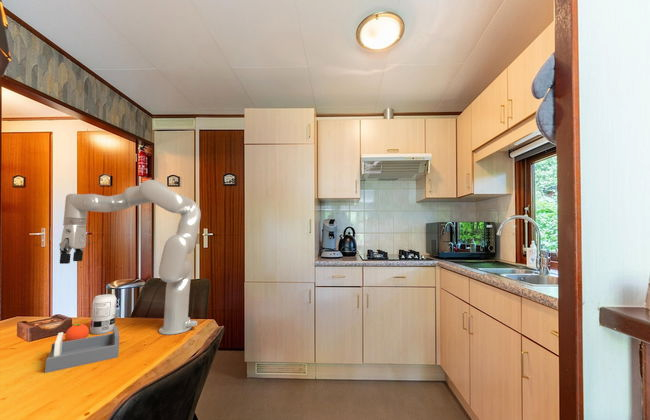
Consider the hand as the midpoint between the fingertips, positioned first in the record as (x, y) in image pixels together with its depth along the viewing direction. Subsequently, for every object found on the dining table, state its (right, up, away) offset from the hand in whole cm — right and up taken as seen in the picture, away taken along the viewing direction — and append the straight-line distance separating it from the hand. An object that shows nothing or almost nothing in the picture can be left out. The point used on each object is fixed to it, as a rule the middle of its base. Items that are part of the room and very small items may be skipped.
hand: (71, 262), depth 119 cm
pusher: (+20, -27, -27) cm, 43 cm away
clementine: (+12, -29, -11) cm, 34 cm away
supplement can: (+13, -30, +1) cm, 33 cm away
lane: (+26, -28, -23) cm, 45 cm away
